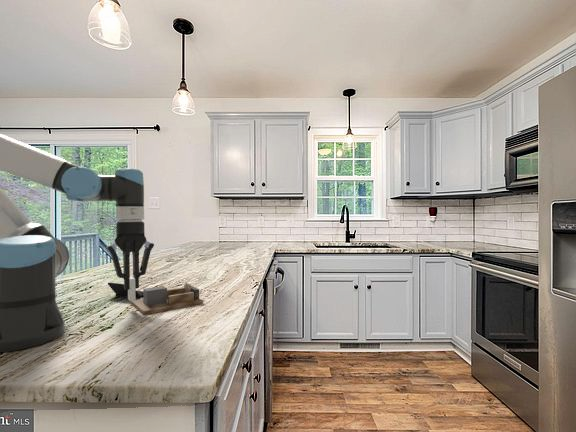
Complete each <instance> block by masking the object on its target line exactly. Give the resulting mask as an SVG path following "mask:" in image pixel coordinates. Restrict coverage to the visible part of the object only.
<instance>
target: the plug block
mask: <svg viewBox="0 0 576 432" xmlns="http://www.w3.org/2000/svg"><path fill="white" fill-rule="evenodd" d="M167 290H168V288H167V287H166V286H164V285H161V286H153V287H145V288H143V297H142V299H143V303H144V304H145V305H146V306H150V305H156V304H161V303H167Z"/></svg>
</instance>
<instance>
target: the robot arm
mask: <svg viewBox="0 0 576 432" xmlns="http://www.w3.org/2000/svg"><path fill="white" fill-rule="evenodd" d="M0 171H1V172H5V173H7V174H10V175H12V176H13V175H14V177H15V176H16V177H19V178H20V179H21V178H22V179H24V180H26V181H28V182H29V181H30V182H33V183H36V184H38V185H41V186H43V187H47V188H49V189H53V190H54V191H57V192H60V193H62V194H65V196H66V199H67V200H69V201H71V202H72V201H73V202H115V220H117V222H116V225H115V226H116V233H115V234H116V235H115V239H114V242H112V243H111V244H110V245H106V246H105V249H106V250H107V251H108V252H109V254H110V257H111V260H112V264H113V266H114V270H115V274H116V276H117V277H118V278H120V279H123V284H124V288H125V290H128V297H127V299H128V301H129V302H132V301H135V300H137V298H136V294H135V290H136V289H139V287H140V277H142V276H145V275H146V272H147V269H148V264H149V259H150V256H151V251H152V250H153V248H154V247H155V244H154V243H153V242H150V241H148V240H147V237H146V235H145V222H144V220H145V204H144V203H145V183H144V181H145V180H144V173H143V172H142V171H141V170H140V169H136V168H129V167H128V168H117V169H115V171H114V172H115V173H114V174H111V175H109V174H107V175H105V174H98V173H97V172H96V171H94V170H93V169H91V168H89V167H86V166H81V165H78V164H76V163H73V162H70V161H68V160H65V159H63V158H61V157H58V156H56V155H53V154H51V153H48V152H46V151H45V150H44V151H43V150H42V149H39V148H36V147H34V146H31V145H29V144H25V143H24V142H21V141H18V140H16V139H14V138H11V137H9V136H6V135H4V134H1V133H0ZM143 246H144V250H143V255H142V259H141V263H140V250H141V249H142V248H143ZM117 247H118V248H119V249H120V251H121V252H122V258H123V259H122V261H123V265H122V267H123V270H122V267H121V264H120V260H119V257H118V253H117V251H116V250H117V249H118V248H117ZM131 255H132V276H131V273H130V271H131V265H130V263H131V261H130V256H131ZM69 262H70V251H69V248H68V246H67V245H66V244H65V242H63V241H61V240H60V239H58V238H56V237H54V236H53V234H52V233H51V232H50V230H48V229H47V228H46V227H45V226H44V225H43V224H41V223H35V222H32V221H31V220H30V219H29V217H28V216H27V215H26V214H25V213H24V212H23V211H22V210H21V208H20V207H18V205H17V204H15V202H14V201H13V200H12V199H11V198H10V197H9V196H8V194H7V193H6V192H5V191H4V190H3V189H2V188H1V187H0V353H4V352H6V353H7V352H12V351H13V352H14V351H19V350H24V349H29V348H33V347H37V346H40V345H43V344H45V343H49V342H52V341H53V340H56V339H57V338H60V337H61V336H62V335H64V333H65V332H66V331H65V328H66V327H65V326H66V325H65V320H64V318H63V316H62V313H61V311H60V308H59V306H58V304H57V301H56V300H57V299H56V278H57V277H58V276H60V275H61V274H62V273H63V272H64V271H65V269H66V268H67V266H68V265H69Z"/></svg>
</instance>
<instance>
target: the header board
mask: <svg viewBox="0 0 576 432" xmlns="http://www.w3.org/2000/svg"><path fill="white" fill-rule="evenodd" d="M202 304H204V300H203V299H201V298H200V288H197V287H195V286H193V285H192V284H189V283H187V282H185V283H184V285H183V287H177V288H171V289H167V303H161V304H156V305H150V306H146V305H145V304H144V303H143V298H139V299H136V300H135V301H131V305H132V306H133V307H134V308H135V309H136V310H137V311H139V312H140V313H141V314H142V315H143V316H144V315H151V314H155V313H160V312H167V311H171V310H176V309H181V308H187V307H192V306H197V305H202Z"/></svg>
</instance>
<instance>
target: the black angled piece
mask: <svg viewBox="0 0 576 432" xmlns="http://www.w3.org/2000/svg"><path fill="white" fill-rule="evenodd" d="M107 284H108V286H109V287H110V289H111V290H112V292H114V294H115V296H116V297H124V298H128V290H125V288H124V283H117V282H107ZM135 294H136V299H137V300H140V299H143V291H142V290H136V289H135Z"/></svg>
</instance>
